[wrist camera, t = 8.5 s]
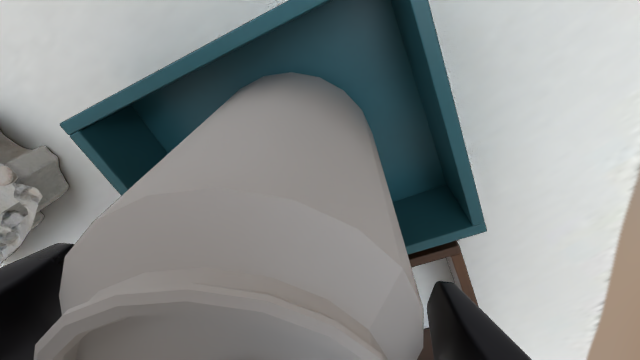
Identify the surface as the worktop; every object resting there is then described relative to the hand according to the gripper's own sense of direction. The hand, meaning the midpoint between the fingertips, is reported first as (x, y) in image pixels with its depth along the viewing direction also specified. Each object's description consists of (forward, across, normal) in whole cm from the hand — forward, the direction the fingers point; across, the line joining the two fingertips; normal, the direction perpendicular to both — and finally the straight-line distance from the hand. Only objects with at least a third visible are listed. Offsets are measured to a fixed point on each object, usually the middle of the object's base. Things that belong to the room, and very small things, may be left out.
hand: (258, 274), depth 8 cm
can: (+9, 0, 0) cm, 9 cm away
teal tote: (+9, 0, 0) cm, 9 cm away
